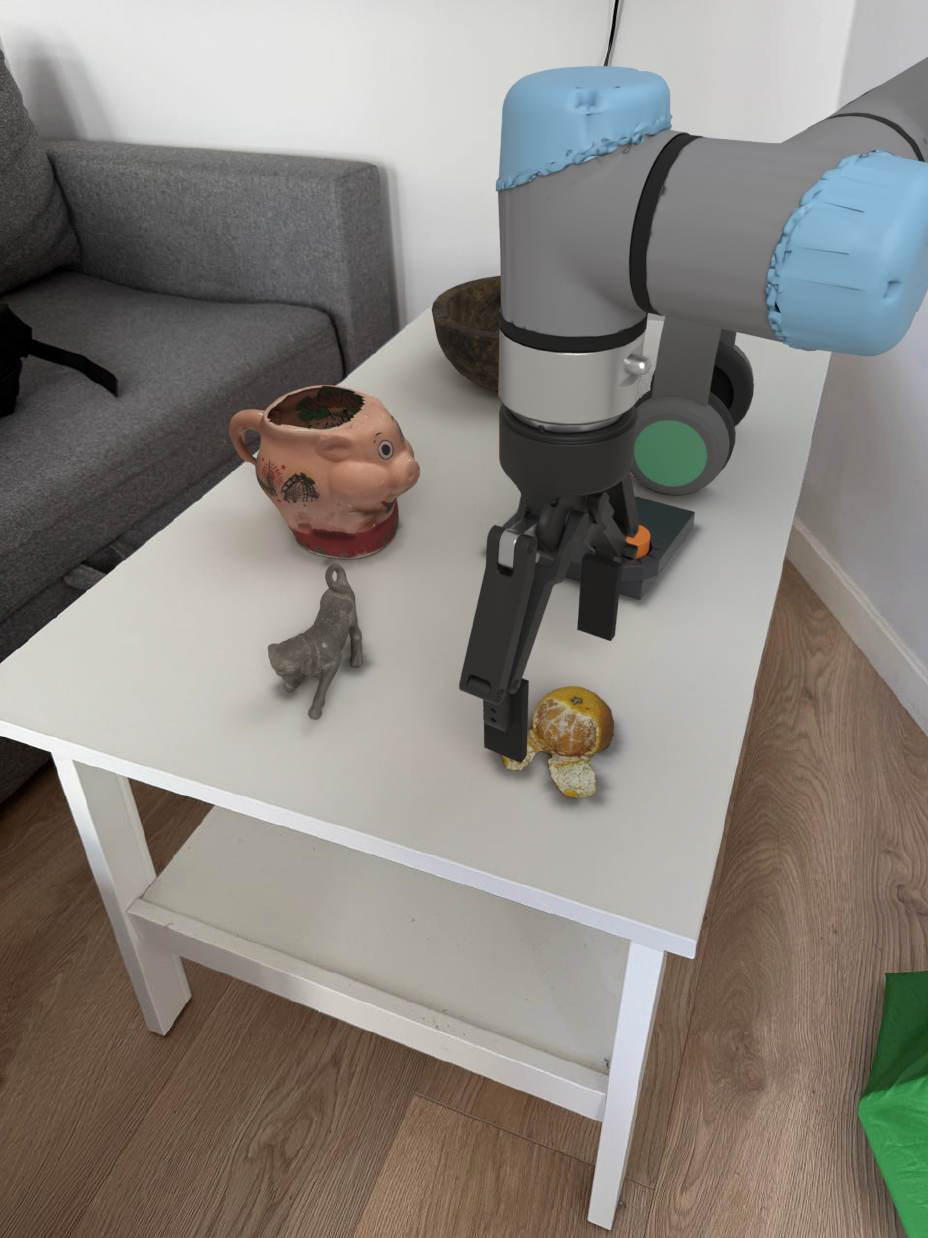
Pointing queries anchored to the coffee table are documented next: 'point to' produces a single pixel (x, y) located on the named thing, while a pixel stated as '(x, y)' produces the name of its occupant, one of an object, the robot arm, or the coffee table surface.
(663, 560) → the scale
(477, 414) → the coffee table surface
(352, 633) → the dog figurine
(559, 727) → the fruit
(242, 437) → the decorative planter
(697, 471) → the grey headset
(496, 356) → the bowl
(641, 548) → the button
